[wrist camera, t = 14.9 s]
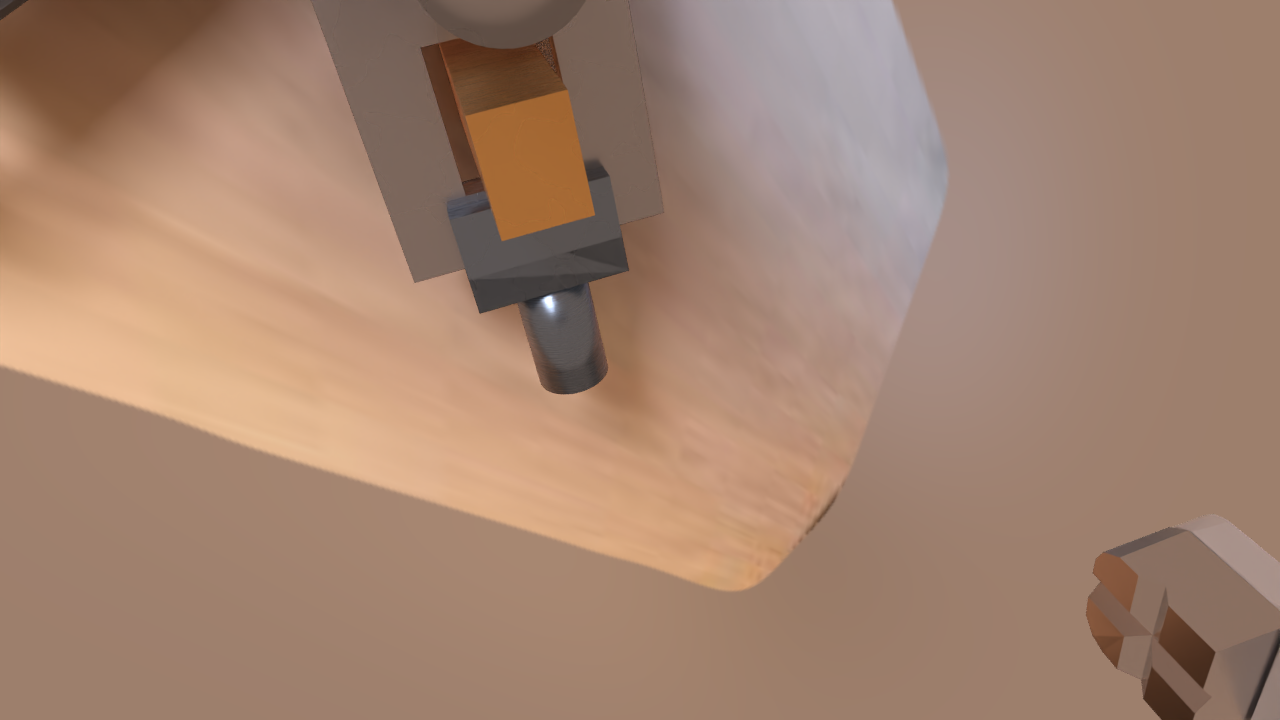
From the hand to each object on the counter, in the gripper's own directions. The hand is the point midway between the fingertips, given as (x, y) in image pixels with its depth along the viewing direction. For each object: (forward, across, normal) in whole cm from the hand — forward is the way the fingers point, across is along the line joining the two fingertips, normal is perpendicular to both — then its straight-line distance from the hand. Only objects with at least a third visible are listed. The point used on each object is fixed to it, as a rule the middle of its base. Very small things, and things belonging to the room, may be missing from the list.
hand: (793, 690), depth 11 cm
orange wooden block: (+31, 0, 0) cm, 31 cm away
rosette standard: (+31, 0, +1) cm, 31 cm away
